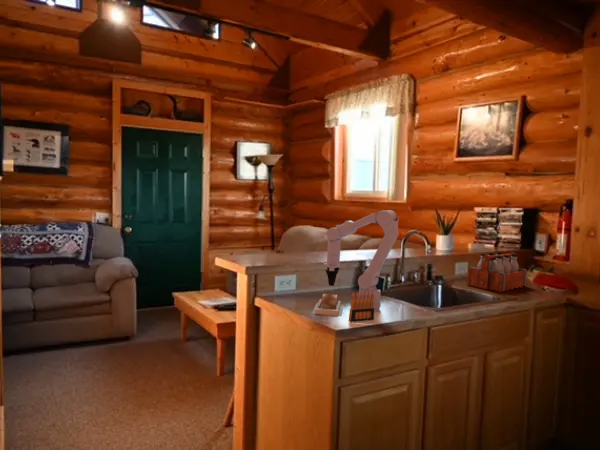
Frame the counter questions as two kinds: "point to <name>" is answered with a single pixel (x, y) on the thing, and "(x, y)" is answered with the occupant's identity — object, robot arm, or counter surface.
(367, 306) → the ammunition clip
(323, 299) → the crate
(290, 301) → the counter surface
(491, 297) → the counter surface
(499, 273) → the milk bottle holder
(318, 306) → the bay
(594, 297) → the counter surface
